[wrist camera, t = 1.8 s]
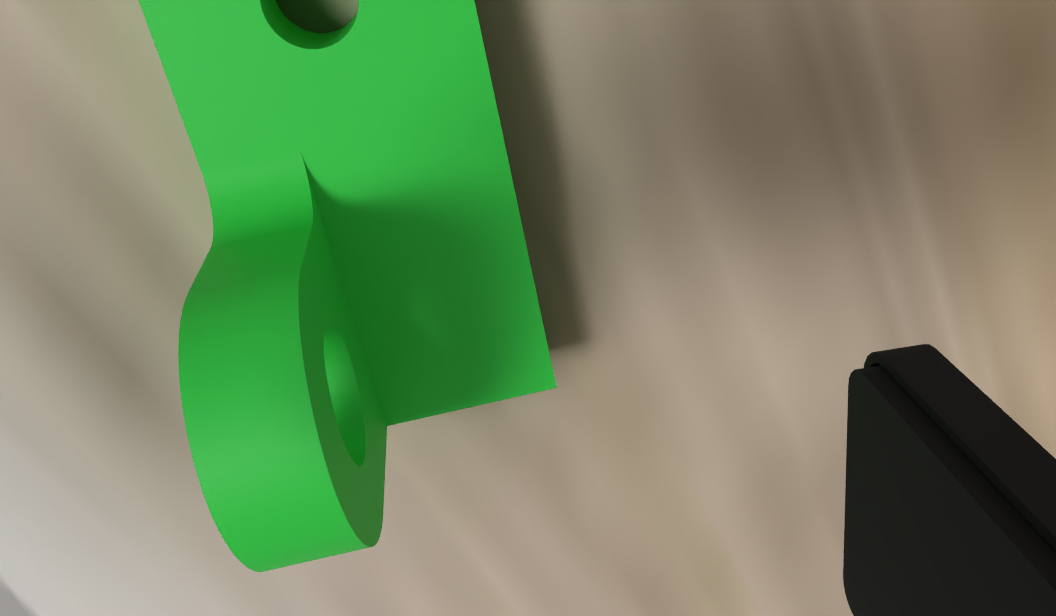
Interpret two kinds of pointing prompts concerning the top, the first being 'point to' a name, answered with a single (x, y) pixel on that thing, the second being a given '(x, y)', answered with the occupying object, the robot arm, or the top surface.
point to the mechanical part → (340, 257)
